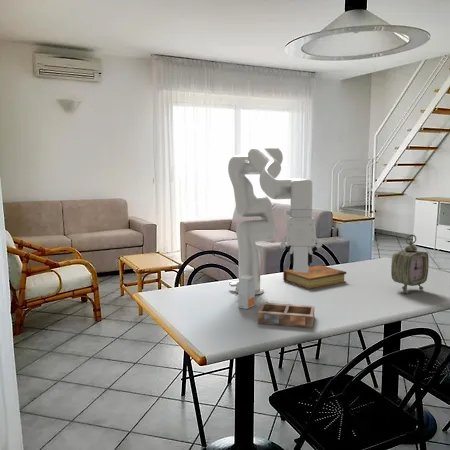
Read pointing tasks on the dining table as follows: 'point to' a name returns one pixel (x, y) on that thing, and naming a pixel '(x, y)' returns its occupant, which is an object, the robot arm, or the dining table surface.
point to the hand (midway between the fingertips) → (301, 264)
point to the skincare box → (246, 291)
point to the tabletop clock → (410, 266)
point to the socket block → (286, 315)
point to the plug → (301, 259)
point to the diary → (315, 277)
